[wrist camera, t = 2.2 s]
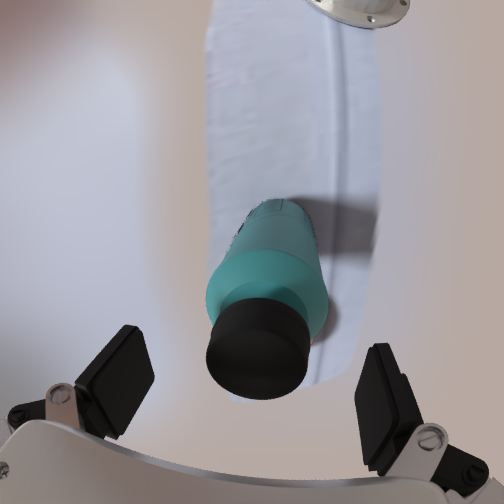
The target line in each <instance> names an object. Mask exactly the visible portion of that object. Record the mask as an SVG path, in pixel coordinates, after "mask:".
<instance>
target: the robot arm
mask: <svg viewBox="0 0 504 504" xmlns="http://www.w3.org/2000/svg"><path fill="white" fill-rule="evenodd" d="M306 1H307V2H308V3H309V4H311V5H312V6H313V7H314V8H315V9H317V10H318V11H320V12H321V13H323V14H324V15H326V16H329V17H330V18H332V19H334V20H337V21H340V22H342V23H345V24H349V25H353V26H356V27H363V28H383V27H388V26H391V25H393V24H396V23H397V22H399V21H400V20H401V19H402V18H403V17H404V16H405V15H406V13H407V11H408V9H409V5H410V0H306ZM319 2H320V3H319ZM154 377H155V375H154V372H153V369H152V365H151V362H150V358H149V355H148V351H147V348H146V344H145V340H144V336H143V333H142V331H141V330H139V328H138V327H137V326H132V325H124V326H123V327H122V328H121V329H120V330H119V332H118V333H117V334H116V335H115V336H114V337H113V338H112V339H111V340H110V342H109V343H108V344H107V345H106V346H105V347H104V348H103V350H102V351H101V352H100V353H99V354H98V355H97V356H96V357H95V359H94V360H93V361H92V362H91V363H90V364H89V366H88V367H87V368H86V369H85V371H83V373H82V374H81V375H80V376H79V377H78V378H77V380H76V381H75V384H76V385H75V386H74V387H73V386H72V385H70V384H68V383H59V384H55V385H54V386H52V387H51V388H50V389H49V390H48V391H47V393H46V399H43V400H39V401H34V402H30V403H25V404H20V405H17V406H15V407H14V408H12V409H11V410H10V412H9V414H8V419H6V417H3V418H1V419H0V504H504V486H503V485H502V484H501V483H500V482H498V481H497V480H496V479H495V478H494V477H493V478H492V479H490V478H489V477H488V476H489V469H488V466H487V464H486V463H485V462H484V461H483V460H481V459H479V458H477V457H475V456H473V455H470V454H468V453H466V452H464V451H462V450H460V449H457V448H456V447H454V446H451V445H449V444H448V434H447V432H446V431H445V429H444V428H443V427H441V426H440V425H438V424H435V423H425V424H424V422H423V419H422V417H421V413H420V410H419V408H418V405H417V402H416V399H415V397H414V394H413V391H412V389H411V386H410V383H409V381H408V378H407V376H406V375H405V374H404V373H403V374H401V373H400V370H399V367H398V365H397V362H396V360H395V357H394V355H393V352H392V350H391V348H390V345H389V344H388V343H375V344H374V345H373V347H370V348H369V349H368V353H367V356H366V359H365V363H364V366H363V370H362V373H361V376H360V379H359V382H358V385H357V388H356V391H355V406H356V412H357V418H358V425H359V431H360V438H361V446H362V453H363V461H364V465H368V469H369V471H377V474H378V475H379V476H380V477H369V478H354V479H340V480H280V479H265V478H254V477H245V476H238V475H230V474H224V473H218V472H213V471H207V470H202V469H197V468H193V467H188V466H184V465H180V464H176V463H172V462H168V461H165V460H161V459H157V458H154V457H151V456H148V455H145V454H141V453H139V452H136V451H132V450H130V449H127V448H124V447H121V446H119V445H116V444H114V443H111V442H108V441H106V440H104V438H105V436H107V437H110V438H112V439H115V440H117V439H118V437H119V436H120V435H123V434H124V432H125V431H126V429H127V427H128V425H129V424H130V422H131V420H132V418H133V417H134V415H135V413H136V411H137V409H138V408H139V406H140V404H141V402H142V401H143V399H144V397H145V396H146V394H147V392H148V391H149V389H150V387H151V385H152V384H153V382H154Z"/></svg>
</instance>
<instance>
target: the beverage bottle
mask: <svg viewBox="0 0 504 504" xmlns="http://www.w3.org/2000/svg"><path fill="white" fill-rule="evenodd" d="M271 199H272V198H271ZM267 200H268V199H267ZM262 202H263V201H262ZM251 212H252V213H251ZM251 212H250V213H249V215H250V216H249V215H248V216H249V217H248V216H247V217H248V219H246V220H247V221H246V222H245V224H244V222H243V225H242V226H241V228H240V229H238V230H239V231H238V235H237V236H236V234H237V233H236V234H235V237H236V238H234V239H235V240H233V239H232V240H233V242H232V245H230V246H231V247H230V249H229V251H228V253H227V254H226V255H225V258H224V259H223V261H222V263H221V264H220V266H219V267H218V268H217V269H216V270H215V272H214V273H213V275H212V277H211V279H210V281H209V283H208V286H207V291H206V307H207V312H208V315H209V318H210V320H211V322H212V324H213V328H212V332H211V339H210V342H209V345H208V348H207V352H206V363H207V368H208V370H209V372H210V374H211V376H212V377H213V379H214V380H215V381H216V382H217V383H218V384H219V385H220V386H221V387H223V388H224V389H226V390H227V391H229V392H231V393H233V394H235V395H238V396H241V397H244V398H249V399H256V400H268V399H275V398H279V397H282V396H284V395H287V394H289V393H290V392H292V391H293V390H295V389H296V388H297V387H298V386H299V385H300V384H301V382H302V381H303V379H304V377H305V375H306V372H307V368H308V357H309V353H310V346H311V343H310V341H311V340H313V339H314V338H315V336H316V335H317V334H318V333H319V332H320V330H321V329H322V327H323V325H324V323H325V321H326V318H327V314H328V307H329V301H328V294H327V290H326V286H325V284H324V280H323V276H322V271H321V266H320V262H319V256H318V250H317V245H316V241H315V235H314V234H313V230H314V228H313V229H312V226H311V223H312V221H311V218H310V220H309V218H308V216H307V214H306V213H305V211H304V208H303V209H302V208H301V207H300V206H298V205H297V204H295V203H293V202H291V201H288V200H284V199H273V200H270V199H269V201H266V202H264V203H261V204H260V205H259V206H257V207H256V208H255V209H254V210H253V211H251ZM306 212H307V211H306ZM310 221H311V222H310ZM312 225H313V224H312ZM314 233H315V232H314ZM316 238H317V237H316ZM318 245H319V244H318Z"/></svg>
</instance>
